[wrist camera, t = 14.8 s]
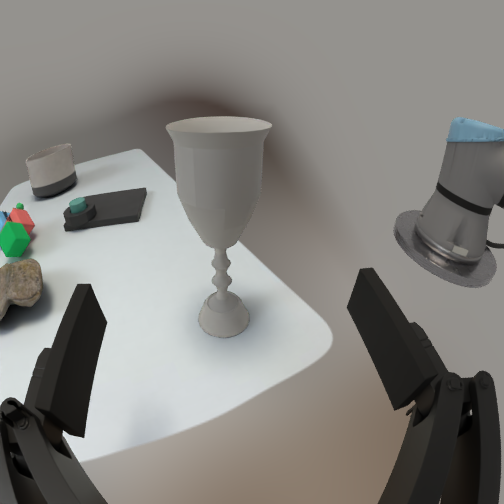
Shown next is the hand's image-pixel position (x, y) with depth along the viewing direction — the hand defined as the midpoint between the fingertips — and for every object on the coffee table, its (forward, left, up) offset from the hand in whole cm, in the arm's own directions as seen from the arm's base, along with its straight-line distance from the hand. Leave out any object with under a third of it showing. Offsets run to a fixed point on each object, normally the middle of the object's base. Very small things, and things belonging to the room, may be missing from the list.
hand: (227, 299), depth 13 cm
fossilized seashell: (+25, -13, -12) cm, 31 cm away
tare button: (+21, -33, -9) cm, 40 cm away
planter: (+37, -55, -12) cm, 67 cm away
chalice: (-1, -9, -12) cm, 15 cm away
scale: (+17, -37, -11) cm, 42 cm away
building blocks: (+35, -28, -12) cm, 46 cm away
